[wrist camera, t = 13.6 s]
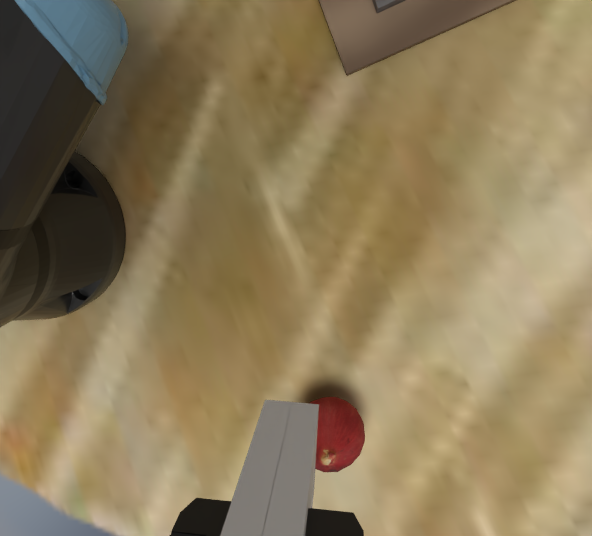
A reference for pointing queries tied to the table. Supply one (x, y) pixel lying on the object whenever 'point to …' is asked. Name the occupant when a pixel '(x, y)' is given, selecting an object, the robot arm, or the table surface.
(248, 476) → the robot arm
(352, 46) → the brown board with rails
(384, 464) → the table surface
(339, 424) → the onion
